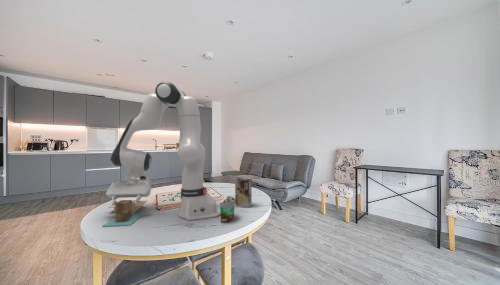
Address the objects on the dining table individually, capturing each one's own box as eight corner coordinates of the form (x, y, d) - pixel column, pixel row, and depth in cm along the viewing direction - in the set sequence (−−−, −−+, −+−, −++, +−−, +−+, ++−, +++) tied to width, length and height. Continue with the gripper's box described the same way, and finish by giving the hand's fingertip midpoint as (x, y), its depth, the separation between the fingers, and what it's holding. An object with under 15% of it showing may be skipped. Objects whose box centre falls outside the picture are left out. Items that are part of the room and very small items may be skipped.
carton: (147, 206, 115) (147, 200, 115) (140, 212, 105) (140, 206, 105) (118, 207, 113) (118, 201, 113) (108, 213, 102) (108, 207, 102)
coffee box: (252, 204, 119) (252, 179, 119) (249, 207, 113) (249, 181, 113) (238, 203, 122) (238, 178, 122) (234, 206, 115) (234, 180, 115)
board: (141, 215, 100) (141, 214, 100) (130, 225, 88) (130, 224, 88) (117, 216, 99) (117, 215, 99) (102, 226, 87) (102, 225, 87)
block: (131, 217, 96) (131, 199, 96) (126, 221, 91) (126, 203, 91) (120, 218, 96) (121, 200, 95) (115, 222, 91) (115, 203, 91)
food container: (231, 224, 90) (232, 203, 90) (219, 223, 91) (219, 202, 91) (238, 215, 102) (238, 196, 102) (227, 214, 103) (227, 195, 103)
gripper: (110, 177, 100) (98, 202, 90) (151, 177, 103) (143, 200, 93) (115, 184, 104) (103, 208, 95) (154, 183, 107) (147, 206, 97)
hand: (124, 204), depth 94 cm, fingers open, 8 cm apart
